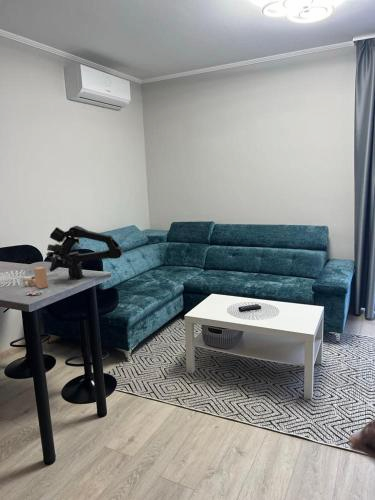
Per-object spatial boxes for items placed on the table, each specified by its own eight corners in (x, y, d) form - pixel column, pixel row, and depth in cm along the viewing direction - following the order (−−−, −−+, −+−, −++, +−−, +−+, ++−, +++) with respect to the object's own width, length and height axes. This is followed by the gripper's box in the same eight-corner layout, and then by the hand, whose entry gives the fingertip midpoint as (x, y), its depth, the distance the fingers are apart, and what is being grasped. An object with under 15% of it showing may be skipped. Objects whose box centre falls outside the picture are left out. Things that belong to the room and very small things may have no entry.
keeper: (33, 285, 193) (32, 276, 192) (31, 286, 191) (29, 277, 190) (22, 285, 195) (21, 276, 194) (20, 286, 193) (18, 277, 192)
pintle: (42, 282, 198) (41, 275, 197) (35, 286, 192) (34, 278, 191) (32, 282, 199) (31, 275, 198) (25, 286, 193) (24, 278, 193)
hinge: (25, 281, 204) (22, 263, 205) (25, 282, 208) (23, 264, 210) (56, 276, 211) (54, 259, 212) (56, 277, 215) (54, 260, 216)
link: (27, 284, 195) (24, 266, 193) (36, 282, 199) (33, 264, 197) (39, 288, 186) (36, 269, 184) (48, 286, 189) (46, 267, 187)
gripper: (47, 237, 200) (30, 261, 194) (64, 239, 187) (46, 264, 181) (62, 248, 207) (46, 272, 201) (79, 251, 194) (63, 276, 188)
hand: (50, 271), depth 193 cm, fingers closed
